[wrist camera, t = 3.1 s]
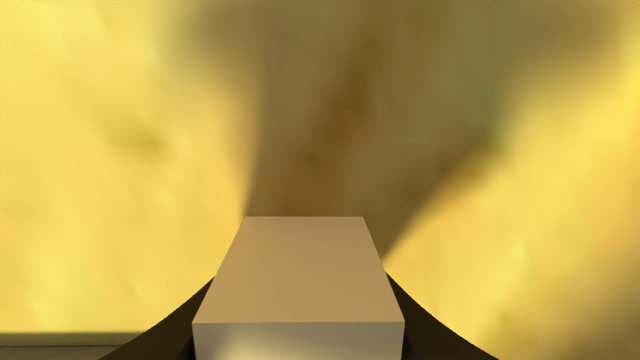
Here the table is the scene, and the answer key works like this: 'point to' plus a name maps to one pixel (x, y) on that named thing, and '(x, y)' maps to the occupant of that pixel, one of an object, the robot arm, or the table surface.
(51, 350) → the desk pad
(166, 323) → the robot arm
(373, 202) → the table surface
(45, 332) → the table surface
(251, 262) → the cream block
